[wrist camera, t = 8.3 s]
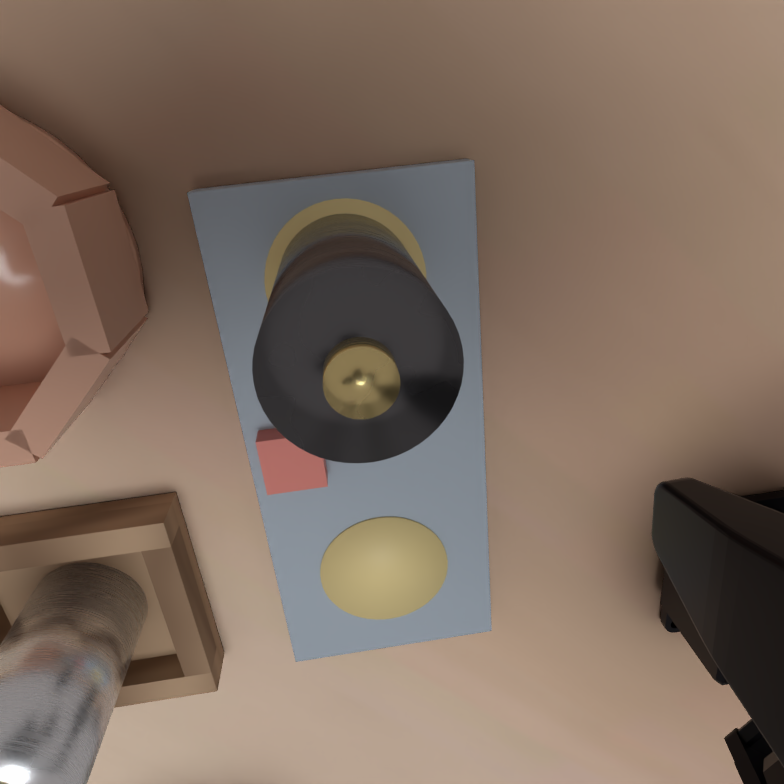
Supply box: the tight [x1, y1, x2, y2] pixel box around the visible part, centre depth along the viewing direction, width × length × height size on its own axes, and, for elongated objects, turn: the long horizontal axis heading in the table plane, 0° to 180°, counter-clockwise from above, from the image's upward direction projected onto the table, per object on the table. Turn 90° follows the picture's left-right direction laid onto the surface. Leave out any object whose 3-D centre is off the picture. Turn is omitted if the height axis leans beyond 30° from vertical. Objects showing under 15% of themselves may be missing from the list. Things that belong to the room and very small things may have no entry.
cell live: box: [0, 562, 148, 784], centre depth 19 cm, size 4×4×8 cm
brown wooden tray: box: [0, 492, 224, 708], centre depth 22 cm, size 8×8×2 cm
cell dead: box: [252, 213, 464, 463], centre depth 14 cm, size 4×4×8 cm
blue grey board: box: [187, 159, 491, 662], centre depth 20 cm, size 8×18×2 cm, turn 5°
